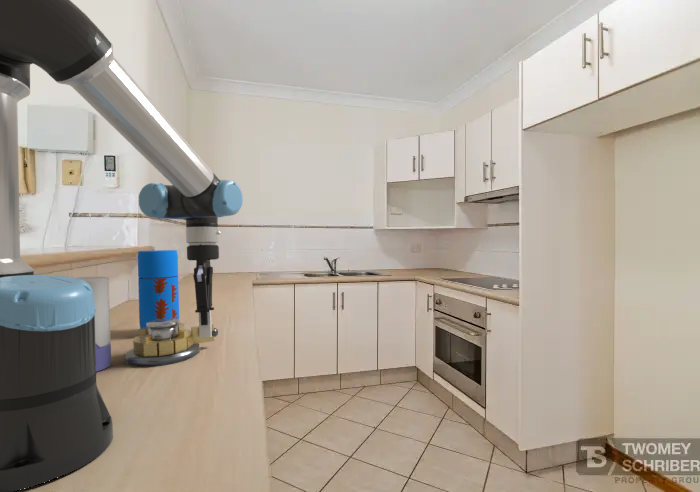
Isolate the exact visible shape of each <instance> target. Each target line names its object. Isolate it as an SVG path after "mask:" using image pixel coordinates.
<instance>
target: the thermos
mask: <svg viewBox="0 0 700 492" xmlns="http://www.w3.org/2000/svg"><path fill="white" fill-rule="evenodd" d="M178 256H179V255H178V250H177V249H174V250H173V249H167V250H166V249H161V250H160V249H158V250H154V249H153V250H138V252H137V280H138V283H137V284H138V315H139V321H138V322H139V329H141V328H147V327H146V323H147V322H149V321H152V320H157V319H164V318H177V319H179V320H180V296H179V294H180V293H179V292H180V291H179V290H180V289H179V257H178Z"/></svg>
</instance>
